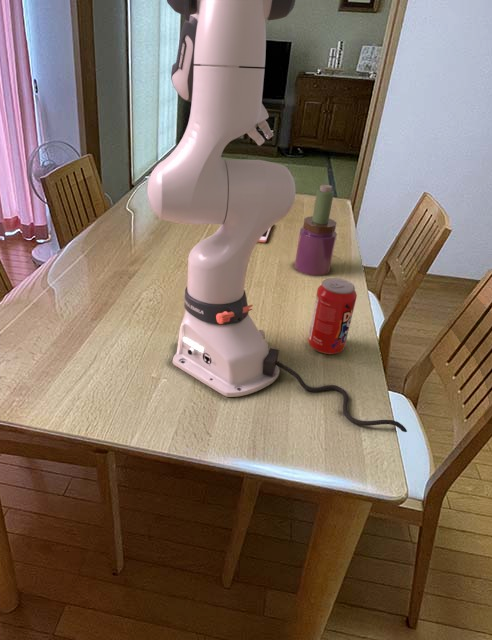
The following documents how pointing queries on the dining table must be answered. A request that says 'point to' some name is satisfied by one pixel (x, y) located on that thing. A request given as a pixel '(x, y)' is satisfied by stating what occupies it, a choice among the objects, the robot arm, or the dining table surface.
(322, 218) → the green shaker
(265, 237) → the cell phone
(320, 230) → the plum jar
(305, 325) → the dining table surface
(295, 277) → the dining table surface
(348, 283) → the soda can
